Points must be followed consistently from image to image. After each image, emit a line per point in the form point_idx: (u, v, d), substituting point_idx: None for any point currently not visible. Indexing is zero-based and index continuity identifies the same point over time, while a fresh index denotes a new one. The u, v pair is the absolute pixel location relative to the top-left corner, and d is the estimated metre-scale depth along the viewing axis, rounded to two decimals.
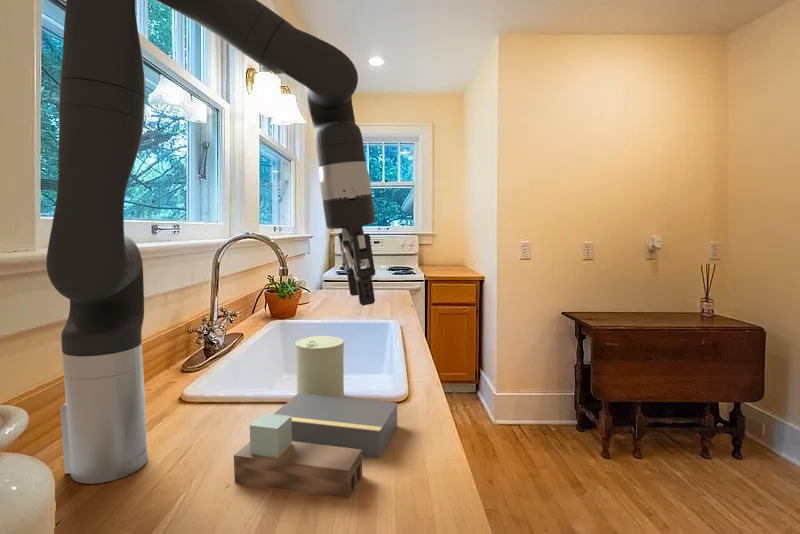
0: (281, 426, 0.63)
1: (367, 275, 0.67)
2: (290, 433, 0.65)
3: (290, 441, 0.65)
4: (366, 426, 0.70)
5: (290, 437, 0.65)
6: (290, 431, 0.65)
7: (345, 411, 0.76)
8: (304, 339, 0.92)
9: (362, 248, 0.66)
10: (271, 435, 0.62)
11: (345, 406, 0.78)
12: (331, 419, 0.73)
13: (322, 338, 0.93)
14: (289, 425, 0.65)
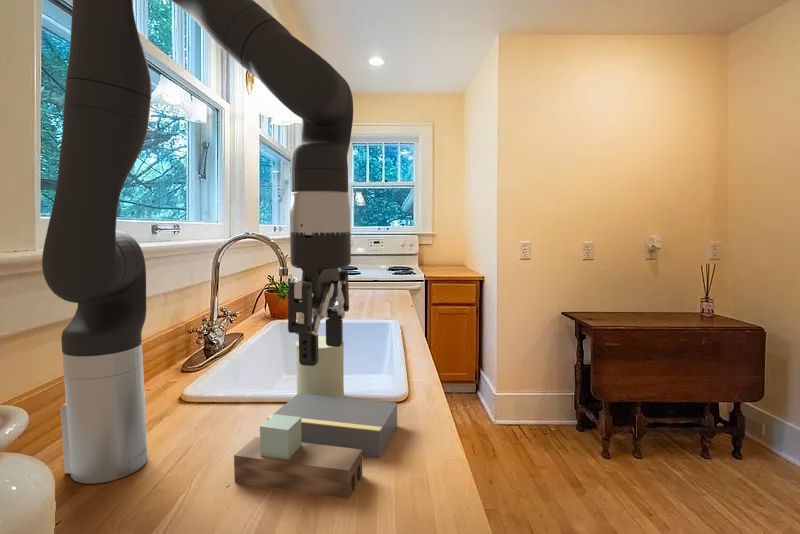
0: (292, 428, 0.62)
1: (299, 332, 0.54)
2: (300, 434, 0.65)
3: (300, 443, 0.65)
4: (366, 426, 0.70)
5: (300, 438, 0.65)
6: (300, 432, 0.65)
7: (345, 411, 0.76)
8: None
9: (298, 298, 0.54)
10: (281, 436, 0.61)
11: (345, 406, 0.78)
12: (331, 419, 0.73)
13: (322, 338, 0.93)
14: (299, 427, 0.65)
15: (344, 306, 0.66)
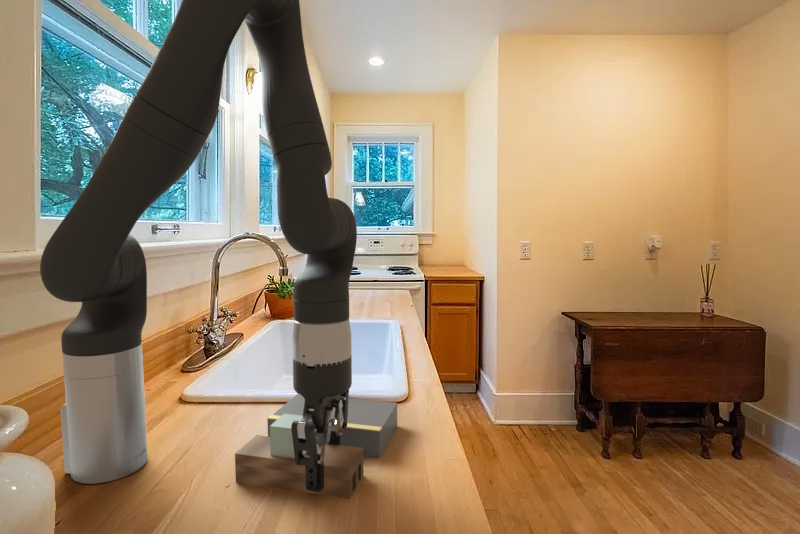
0: None
1: (306, 465, 0.57)
2: None
3: None
4: (366, 426, 0.70)
5: None
6: None
7: None
8: None
9: (302, 438, 0.56)
10: (291, 435, 0.61)
11: None
12: None
13: None
14: None
15: (342, 424, 0.67)
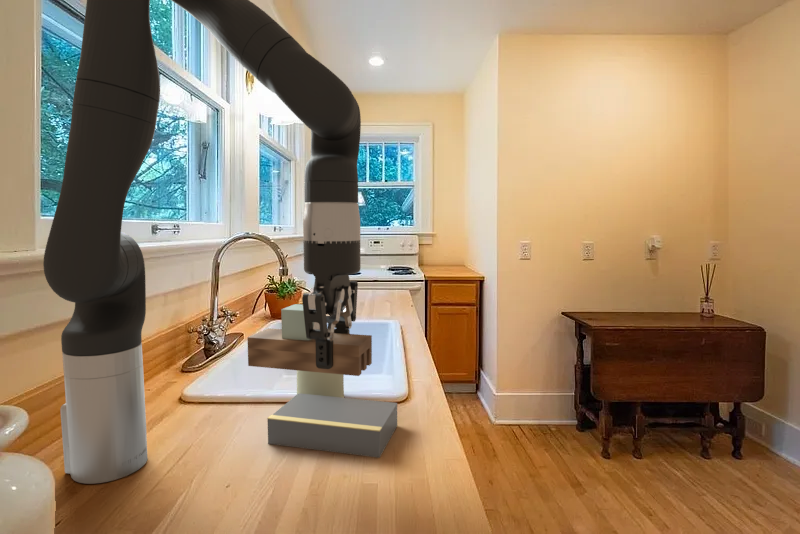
0: None
1: (316, 338, 0.59)
2: None
3: None
4: (366, 426, 0.70)
5: None
6: None
7: (345, 411, 0.76)
8: None
9: (312, 310, 0.58)
10: (302, 317, 0.63)
11: (345, 406, 0.78)
12: (331, 419, 0.73)
13: None
14: None
15: (351, 316, 0.68)
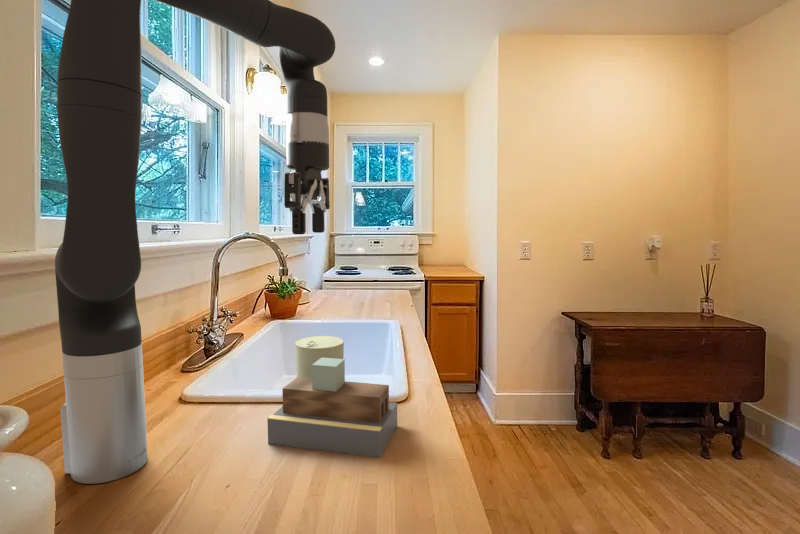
0: (338, 366, 0.74)
1: (292, 206, 0.79)
2: (343, 373, 0.77)
3: (344, 381, 0.77)
4: (366, 426, 0.70)
5: (343, 377, 0.77)
6: (343, 371, 0.77)
7: None
8: (304, 339, 0.92)
9: (291, 183, 0.79)
10: (330, 372, 0.74)
11: None
12: (331, 419, 0.73)
13: (322, 338, 0.93)
14: (343, 367, 0.77)
15: (326, 204, 0.91)
